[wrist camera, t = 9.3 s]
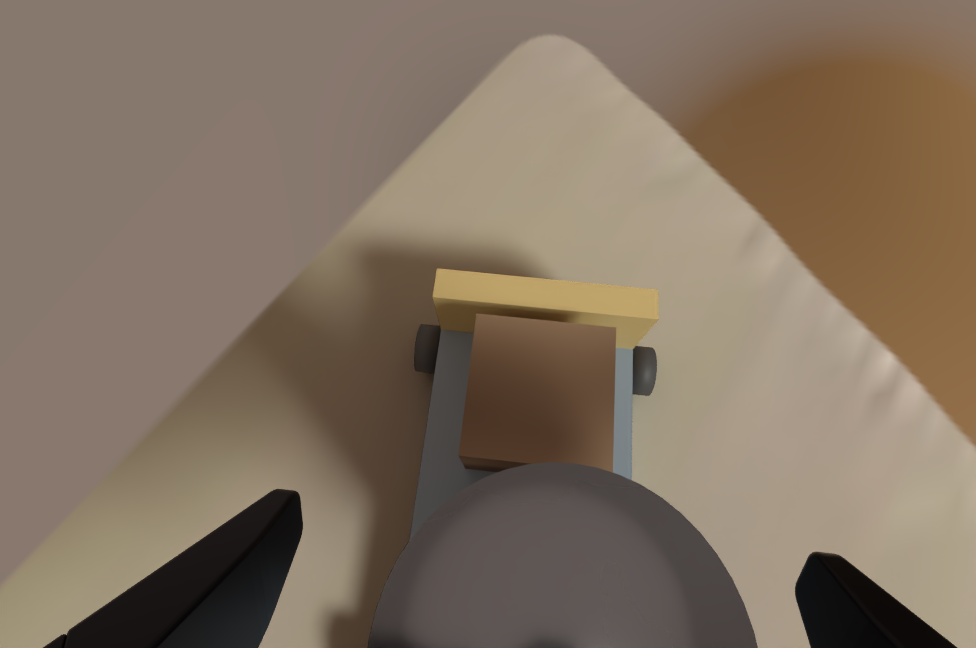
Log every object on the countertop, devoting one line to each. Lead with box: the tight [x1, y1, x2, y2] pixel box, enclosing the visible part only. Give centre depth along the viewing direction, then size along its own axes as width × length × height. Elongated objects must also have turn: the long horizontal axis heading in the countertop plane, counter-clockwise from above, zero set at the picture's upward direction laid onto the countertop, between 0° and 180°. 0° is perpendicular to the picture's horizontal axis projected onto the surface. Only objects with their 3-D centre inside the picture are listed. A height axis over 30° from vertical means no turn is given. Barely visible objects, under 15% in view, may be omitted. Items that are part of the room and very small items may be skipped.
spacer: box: [368, 462, 758, 648], centre depth 11 cm, size 4×4×11 cm
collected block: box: [458, 313, 616, 473], centre depth 16 cm, size 4×4×4 cm
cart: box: [409, 268, 658, 540], centre depth 16 cm, size 14×9×5 cm, turn 174°
